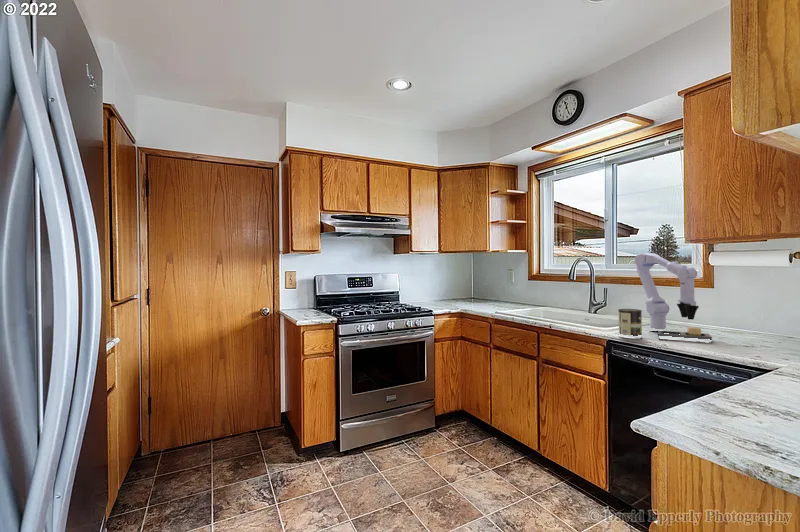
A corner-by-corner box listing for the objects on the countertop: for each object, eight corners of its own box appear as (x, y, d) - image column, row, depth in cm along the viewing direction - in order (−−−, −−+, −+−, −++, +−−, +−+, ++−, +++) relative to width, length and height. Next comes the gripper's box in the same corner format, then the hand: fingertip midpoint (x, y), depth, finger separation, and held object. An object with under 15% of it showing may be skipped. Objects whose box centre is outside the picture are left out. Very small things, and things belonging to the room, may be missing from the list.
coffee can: (641, 336, 198) (641, 309, 198) (642, 340, 189) (641, 311, 189) (618, 334, 204) (618, 308, 204) (618, 338, 195) (617, 310, 195)
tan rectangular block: (687, 339, 190) (687, 327, 190) (698, 340, 187) (698, 327, 187) (689, 341, 186) (689, 328, 186) (701, 341, 183) (700, 329, 183)
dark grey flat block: (658, 336, 198) (658, 330, 198) (708, 339, 187) (708, 333, 187) (659, 339, 190) (659, 333, 190) (712, 343, 179) (711, 337, 179)
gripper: (672, 290, 203) (672, 316, 203) (684, 292, 190) (684, 320, 190) (688, 290, 201) (688, 316, 201) (701, 292, 188) (701, 320, 188)
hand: (687, 318), depth 195 cm, fingers open, 7 cm apart
